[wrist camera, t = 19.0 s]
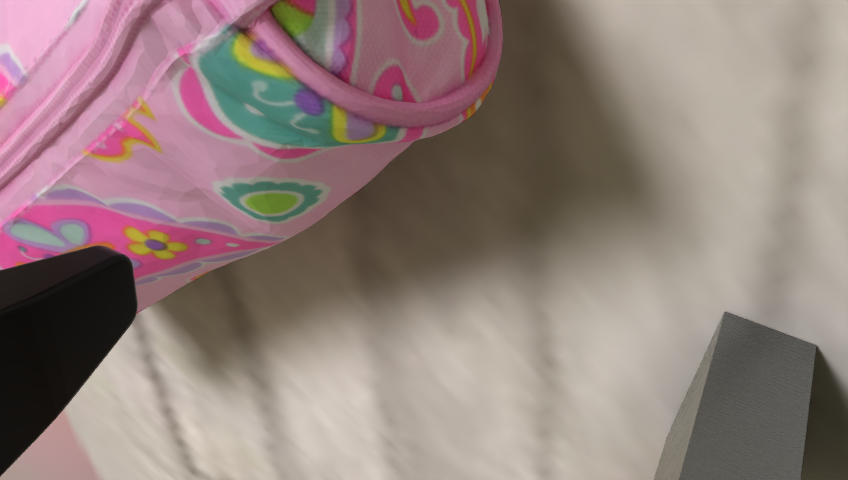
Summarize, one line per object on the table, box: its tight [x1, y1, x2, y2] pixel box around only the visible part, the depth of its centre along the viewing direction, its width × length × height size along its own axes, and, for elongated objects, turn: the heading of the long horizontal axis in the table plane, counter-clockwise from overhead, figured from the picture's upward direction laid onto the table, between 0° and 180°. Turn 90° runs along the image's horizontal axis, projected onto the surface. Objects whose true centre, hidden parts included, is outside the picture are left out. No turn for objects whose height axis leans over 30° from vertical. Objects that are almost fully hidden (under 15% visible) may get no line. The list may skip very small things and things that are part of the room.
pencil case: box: [0, 0, 503, 314], centre depth 21 cm, size 21×9×9 cm, turn 129°
